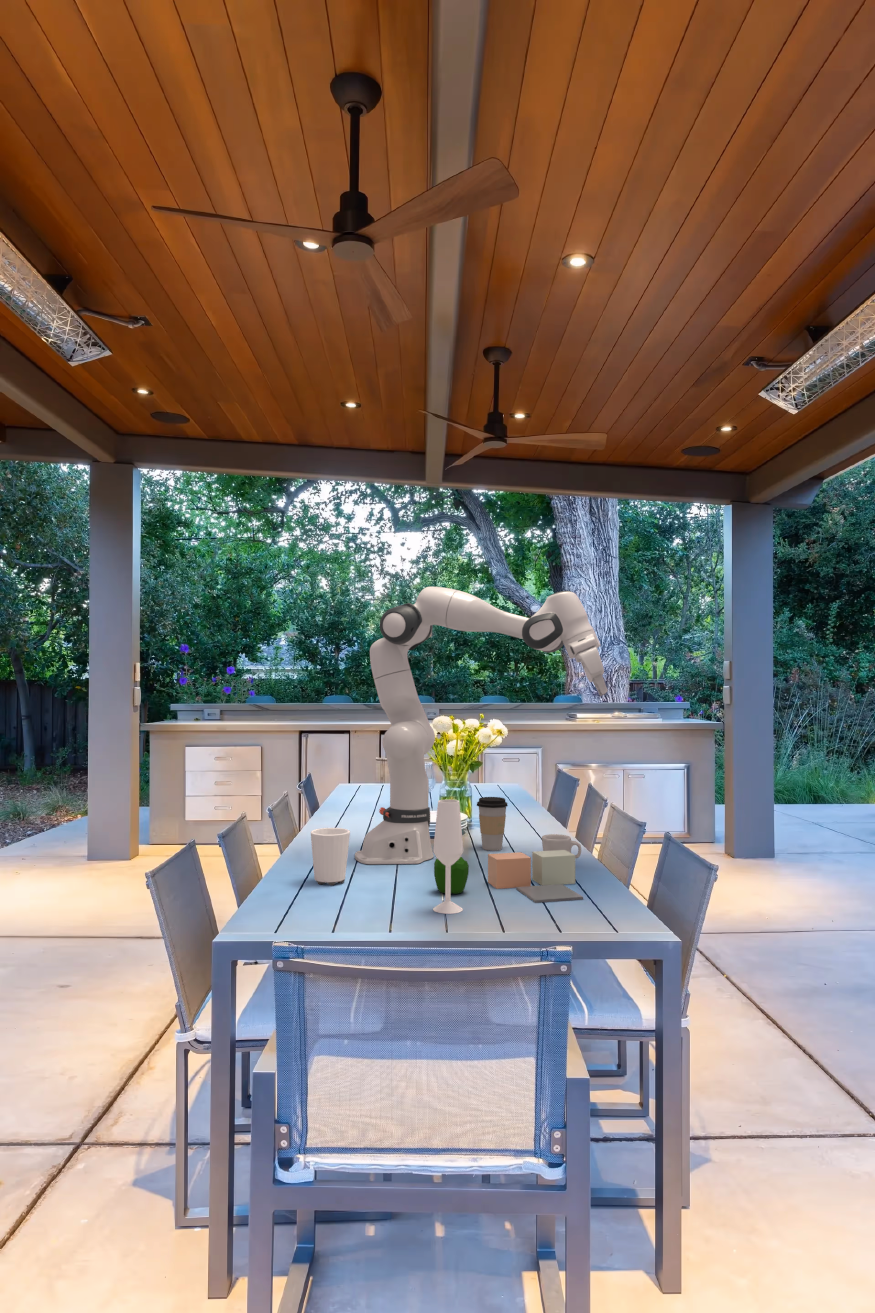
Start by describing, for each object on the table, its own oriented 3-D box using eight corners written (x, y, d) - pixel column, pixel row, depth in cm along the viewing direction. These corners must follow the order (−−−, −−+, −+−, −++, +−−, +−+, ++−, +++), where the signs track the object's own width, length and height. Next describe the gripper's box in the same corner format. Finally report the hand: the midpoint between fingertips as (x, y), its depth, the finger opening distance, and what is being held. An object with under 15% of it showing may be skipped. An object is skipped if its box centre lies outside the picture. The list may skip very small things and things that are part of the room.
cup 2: (580, 863, 227) (580, 834, 227) (582, 870, 219) (582, 840, 219) (541, 862, 228) (541, 833, 228) (542, 869, 220) (542, 839, 220)
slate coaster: (535, 902, 187) (535, 900, 187) (516, 889, 198) (516, 887, 198) (583, 899, 190) (583, 896, 190) (561, 886, 202) (561, 884, 202)
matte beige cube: (542, 885, 202) (542, 857, 202) (532, 879, 208) (532, 851, 208) (575, 883, 205) (575, 855, 205) (564, 877, 211) (564, 850, 211)
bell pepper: (472, 889, 199) (472, 847, 199) (464, 897, 191) (464, 854, 191) (439, 886, 201) (439, 845, 201) (429, 894, 193) (430, 852, 193)
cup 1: (301, 882, 204) (302, 831, 204) (332, 875, 211) (332, 826, 211) (327, 889, 197) (327, 836, 197) (357, 882, 204) (358, 831, 205)
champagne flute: (433, 904, 185) (434, 798, 185) (462, 905, 184) (463, 799, 185) (432, 913, 178) (433, 803, 178) (462, 914, 178) (463, 803, 178)
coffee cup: (508, 852, 241) (508, 801, 241) (476, 851, 241) (477, 801, 241) (506, 845, 250) (506, 796, 250) (475, 845, 250) (476, 796, 250)
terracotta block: (496, 888, 199) (496, 859, 199) (487, 882, 205) (488, 854, 205) (530, 886, 201) (530, 857, 201) (521, 880, 207) (521, 852, 208)
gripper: (571, 655, 229) (591, 700, 227) (572, 646, 209) (594, 696, 207) (592, 646, 228) (613, 691, 226) (595, 637, 208) (617, 686, 206)
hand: (604, 693), depth 216 cm, fingers open, 8 cm apart
